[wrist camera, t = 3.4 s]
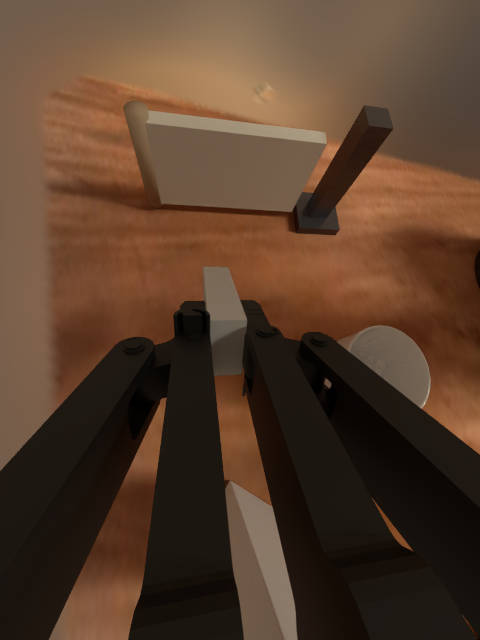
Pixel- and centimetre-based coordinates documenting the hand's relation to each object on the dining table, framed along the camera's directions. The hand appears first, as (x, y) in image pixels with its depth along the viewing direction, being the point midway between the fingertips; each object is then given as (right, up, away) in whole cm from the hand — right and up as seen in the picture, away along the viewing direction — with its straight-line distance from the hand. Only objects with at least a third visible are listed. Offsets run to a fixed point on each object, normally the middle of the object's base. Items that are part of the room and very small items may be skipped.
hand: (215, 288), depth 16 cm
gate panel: (-1, +13, +18) cm, 22 cm away
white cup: (+13, -9, +15) cm, 22 cm away
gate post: (+12, +13, +21) cm, 28 cm away
